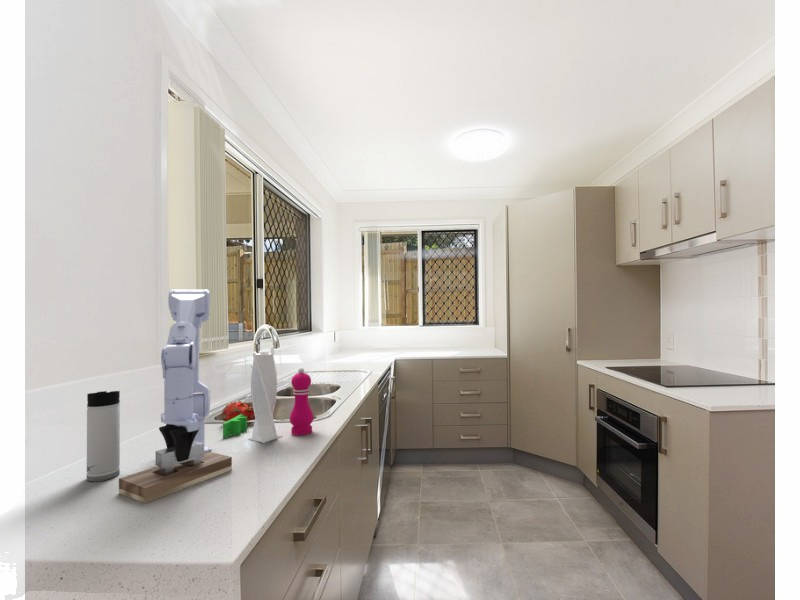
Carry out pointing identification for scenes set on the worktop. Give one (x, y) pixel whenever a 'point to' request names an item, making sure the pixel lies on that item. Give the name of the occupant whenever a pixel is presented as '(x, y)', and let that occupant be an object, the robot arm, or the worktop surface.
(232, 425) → the green bumpy bar
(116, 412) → the travel mug
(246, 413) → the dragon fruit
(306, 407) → the pepper mill
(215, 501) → the worktop surface
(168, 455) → the grey block
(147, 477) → the wooden slotted board
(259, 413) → the skyscraper
